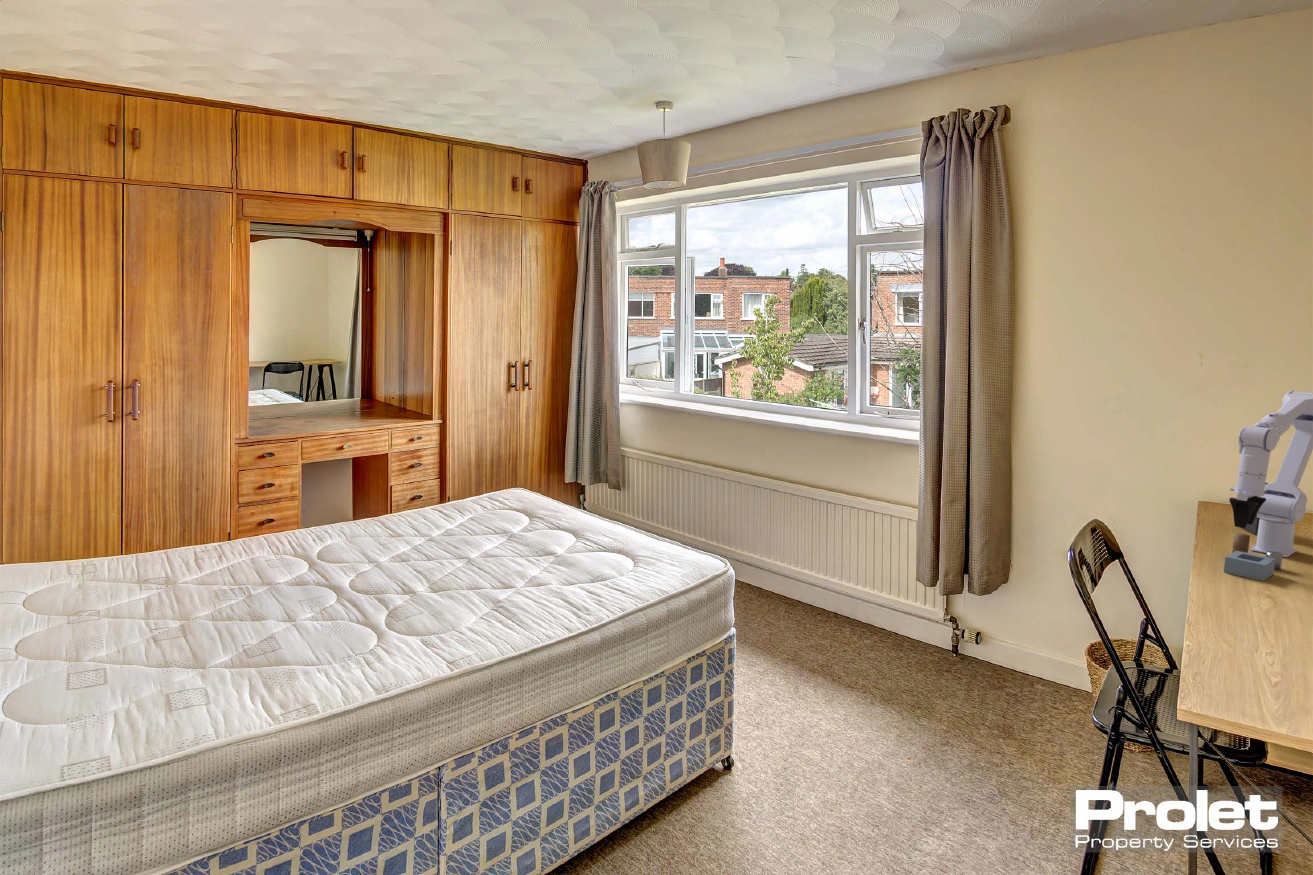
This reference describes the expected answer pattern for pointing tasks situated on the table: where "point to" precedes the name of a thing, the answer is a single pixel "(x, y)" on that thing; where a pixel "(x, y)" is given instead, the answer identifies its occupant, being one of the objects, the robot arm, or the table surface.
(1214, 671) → the table surface
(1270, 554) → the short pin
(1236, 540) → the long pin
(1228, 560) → the hole block
